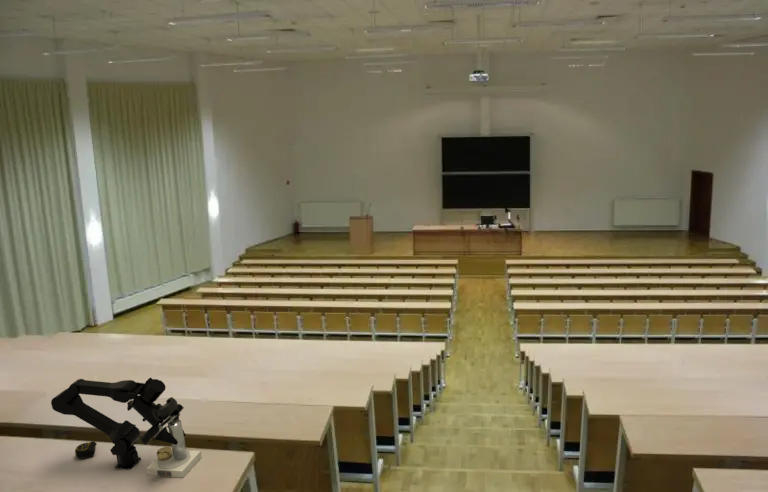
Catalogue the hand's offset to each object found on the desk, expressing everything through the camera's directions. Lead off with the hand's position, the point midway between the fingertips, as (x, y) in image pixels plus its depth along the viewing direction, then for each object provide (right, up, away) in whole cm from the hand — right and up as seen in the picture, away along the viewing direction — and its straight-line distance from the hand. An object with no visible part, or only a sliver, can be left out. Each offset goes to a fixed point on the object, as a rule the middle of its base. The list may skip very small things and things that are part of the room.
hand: (180, 439), depth 207 cm
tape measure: (-40, -11, +16) cm, 44 cm away
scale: (-3, -10, +4) cm, 11 cm away
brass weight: (-7, -7, +4) cm, 11 cm away
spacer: (-1, -6, +2) cm, 7 cm away
